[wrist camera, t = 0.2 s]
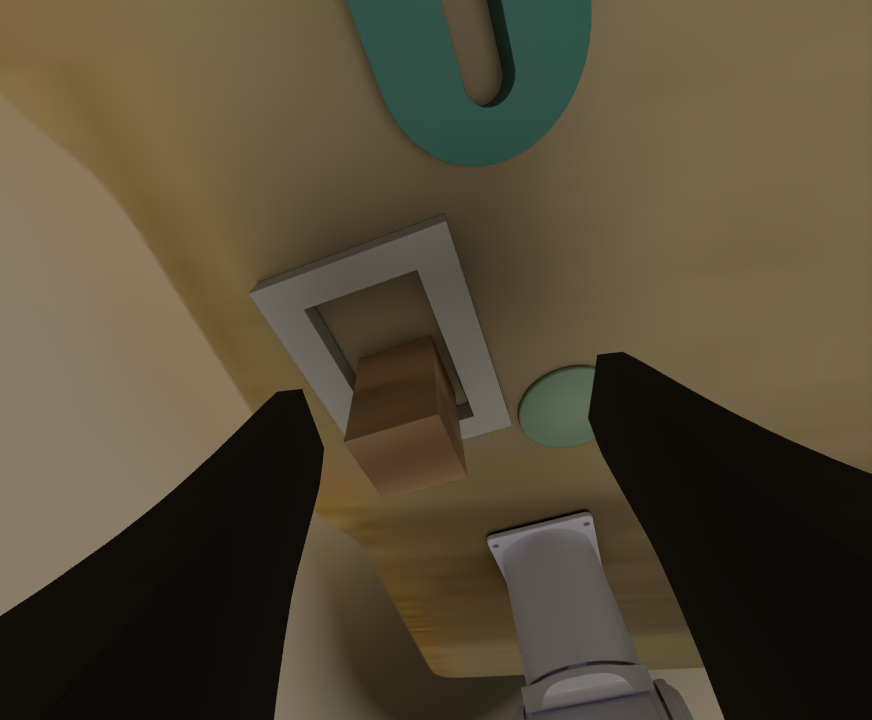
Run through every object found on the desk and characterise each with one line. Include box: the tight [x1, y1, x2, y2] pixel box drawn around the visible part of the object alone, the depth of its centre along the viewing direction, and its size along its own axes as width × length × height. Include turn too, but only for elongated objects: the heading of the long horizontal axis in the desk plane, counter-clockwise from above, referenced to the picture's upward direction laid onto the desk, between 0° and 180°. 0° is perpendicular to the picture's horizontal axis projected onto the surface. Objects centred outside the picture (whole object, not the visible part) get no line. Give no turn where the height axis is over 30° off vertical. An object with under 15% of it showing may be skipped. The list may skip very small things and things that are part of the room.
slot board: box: [249, 214, 512, 440], centre depth 20 cm, size 12×9×1 cm
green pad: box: [518, 365, 595, 448], centre depth 23 cm, size 6×6×1 cm
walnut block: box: [344, 336, 468, 500], centre depth 19 cm, size 4×4×6 cm
